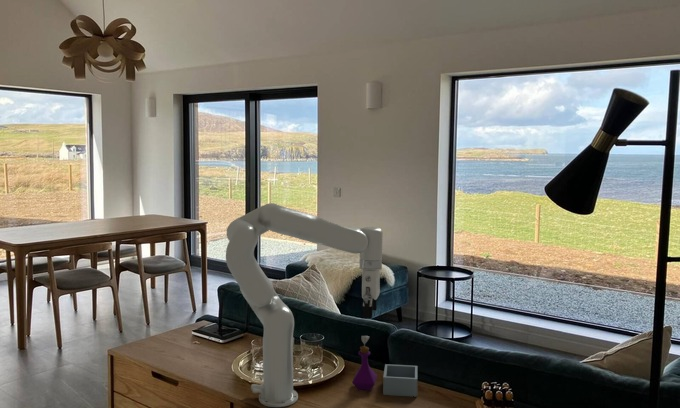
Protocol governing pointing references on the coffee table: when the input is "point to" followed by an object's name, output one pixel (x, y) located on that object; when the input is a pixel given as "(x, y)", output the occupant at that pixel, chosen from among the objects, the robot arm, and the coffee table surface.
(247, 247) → the robot arm
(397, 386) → the walled box
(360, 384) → the perfume bottle
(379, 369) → the coffee table surface
